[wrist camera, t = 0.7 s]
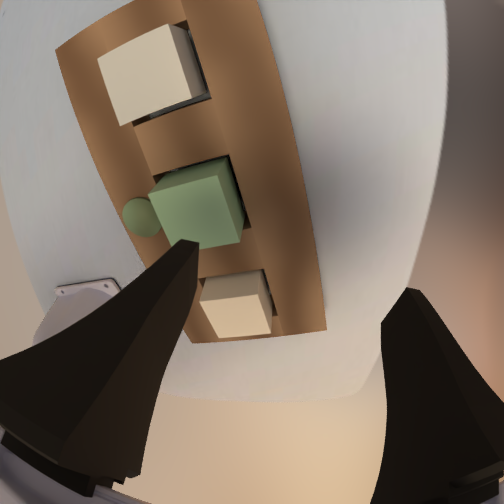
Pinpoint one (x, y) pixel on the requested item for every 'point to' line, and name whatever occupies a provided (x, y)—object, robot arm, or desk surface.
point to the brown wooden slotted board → (207, 151)
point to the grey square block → (151, 73)
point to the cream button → (237, 304)
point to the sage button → (200, 205)
